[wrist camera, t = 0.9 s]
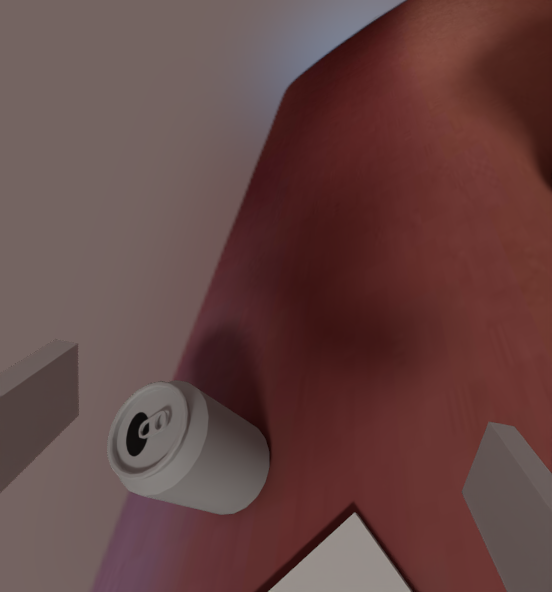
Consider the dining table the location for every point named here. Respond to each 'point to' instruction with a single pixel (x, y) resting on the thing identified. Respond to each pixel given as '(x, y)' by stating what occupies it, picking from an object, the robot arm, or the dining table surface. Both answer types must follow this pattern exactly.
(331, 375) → the dining table surface
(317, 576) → the placemat
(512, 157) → the dining table surface
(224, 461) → the can
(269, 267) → the dining table surface
